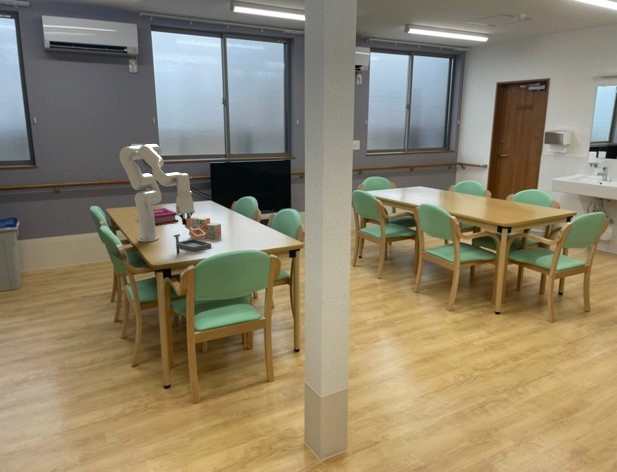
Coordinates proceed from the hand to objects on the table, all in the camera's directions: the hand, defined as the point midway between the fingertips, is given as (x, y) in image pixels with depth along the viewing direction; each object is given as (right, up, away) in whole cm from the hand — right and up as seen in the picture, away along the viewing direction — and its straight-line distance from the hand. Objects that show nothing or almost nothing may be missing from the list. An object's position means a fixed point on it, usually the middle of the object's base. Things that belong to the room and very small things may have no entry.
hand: (186, 224), depth 284 cm
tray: (+5, -14, -1) cm, 15 cm away
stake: (-1, -17, -14) cm, 22 cm away
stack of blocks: (+6, -8, +25) cm, 27 cm away
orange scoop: (+5, -5, -3) cm, 8 cm away
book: (-41, +4, +76) cm, 86 cm away
